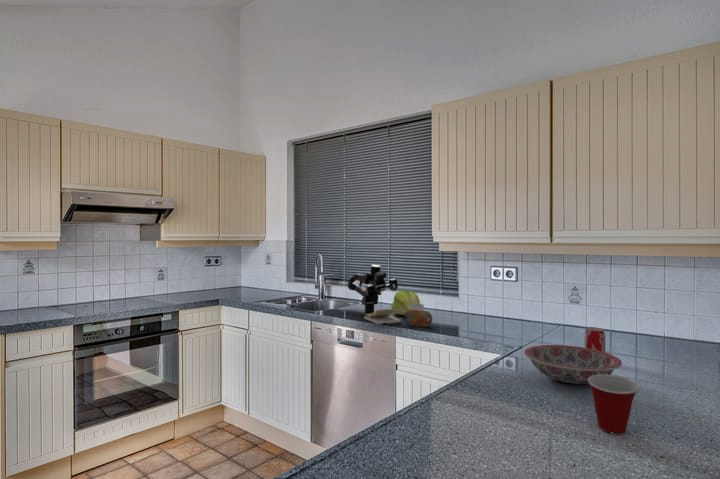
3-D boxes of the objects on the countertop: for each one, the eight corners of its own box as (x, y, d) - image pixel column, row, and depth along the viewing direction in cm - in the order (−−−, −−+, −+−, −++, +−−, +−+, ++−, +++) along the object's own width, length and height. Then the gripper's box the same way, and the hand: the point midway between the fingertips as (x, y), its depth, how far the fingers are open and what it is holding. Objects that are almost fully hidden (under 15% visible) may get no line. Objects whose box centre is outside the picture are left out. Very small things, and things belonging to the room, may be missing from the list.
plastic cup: (590, 435, 104) (590, 385, 104) (584, 417, 114) (585, 372, 114) (643, 443, 100) (643, 391, 100) (632, 424, 110) (632, 377, 110)
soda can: (597, 363, 163) (597, 331, 163) (580, 358, 169) (580, 327, 169) (609, 360, 166) (609, 329, 166) (592, 356, 172) (592, 326, 172)
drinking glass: (419, 324, 233) (419, 306, 233) (409, 322, 238) (409, 304, 237) (426, 322, 238) (426, 304, 238) (416, 321, 243) (416, 303, 242)
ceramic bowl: (620, 403, 124) (621, 375, 124) (515, 384, 140) (515, 359, 140) (622, 375, 149) (622, 352, 149) (532, 362, 164) (532, 341, 164)
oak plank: (368, 317, 246) (368, 314, 246) (388, 315, 251) (388, 313, 252) (378, 312, 234) (377, 310, 235) (399, 311, 239) (399, 308, 240)
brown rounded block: (403, 325, 232) (403, 309, 232) (406, 324, 235) (406, 308, 235) (430, 328, 225) (431, 311, 225) (432, 326, 228) (432, 310, 228)
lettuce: (394, 321, 247) (398, 296, 245) (388, 308, 271) (392, 286, 270) (423, 325, 248) (427, 301, 247) (415, 312, 273) (419, 290, 271)
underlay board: (364, 318, 250) (364, 313, 250) (385, 316, 256) (385, 312, 256) (377, 324, 234) (377, 319, 234) (400, 322, 239) (400, 317, 239)
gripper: (360, 274, 248) (371, 282, 234) (389, 267, 254) (402, 274, 240) (362, 292, 251) (373, 301, 237) (391, 284, 257) (404, 292, 243)
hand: (388, 291), depth 239 cm, fingers open, 9 cm apart
